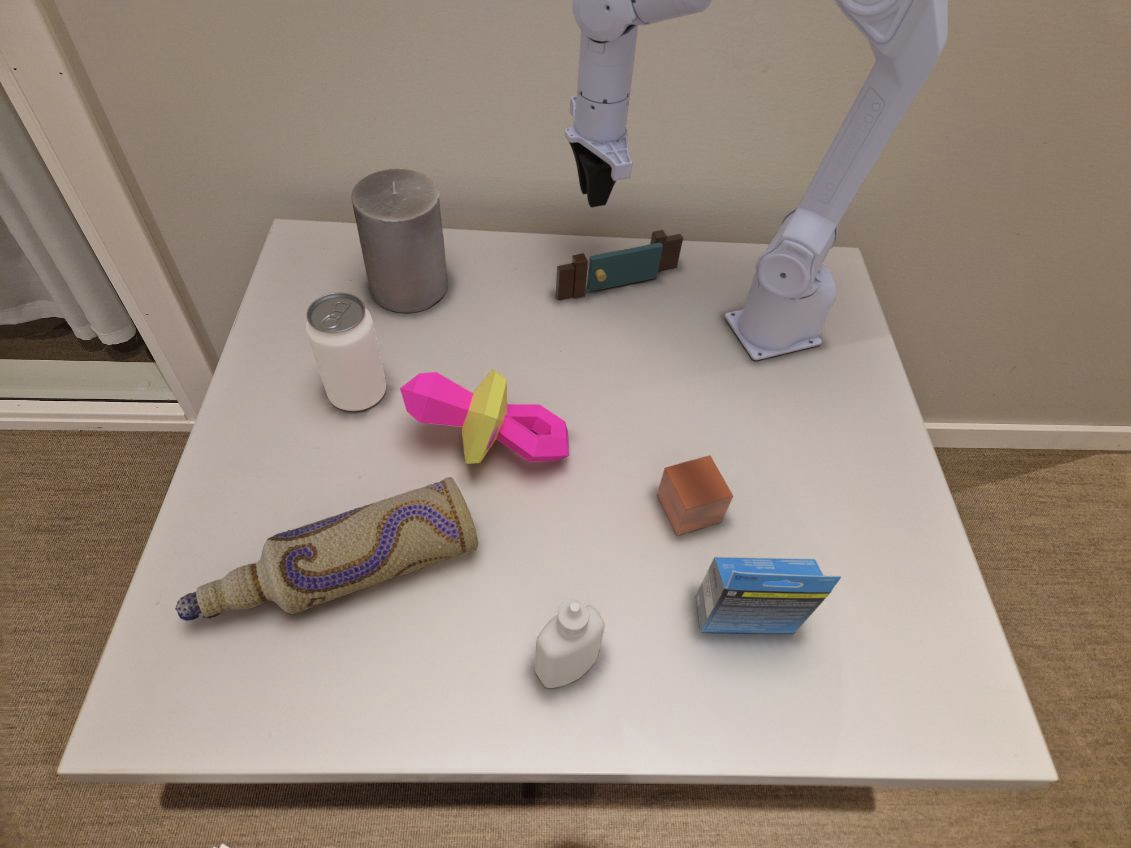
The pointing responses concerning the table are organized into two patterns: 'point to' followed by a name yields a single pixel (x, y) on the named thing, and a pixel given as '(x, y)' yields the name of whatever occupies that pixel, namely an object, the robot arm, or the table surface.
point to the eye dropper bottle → (568, 644)
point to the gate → (575, 273)
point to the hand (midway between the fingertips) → (593, 198)
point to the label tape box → (760, 594)
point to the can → (346, 351)
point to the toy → (487, 417)
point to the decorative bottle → (344, 553)
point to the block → (694, 495)
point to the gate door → (623, 266)
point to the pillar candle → (401, 238)
